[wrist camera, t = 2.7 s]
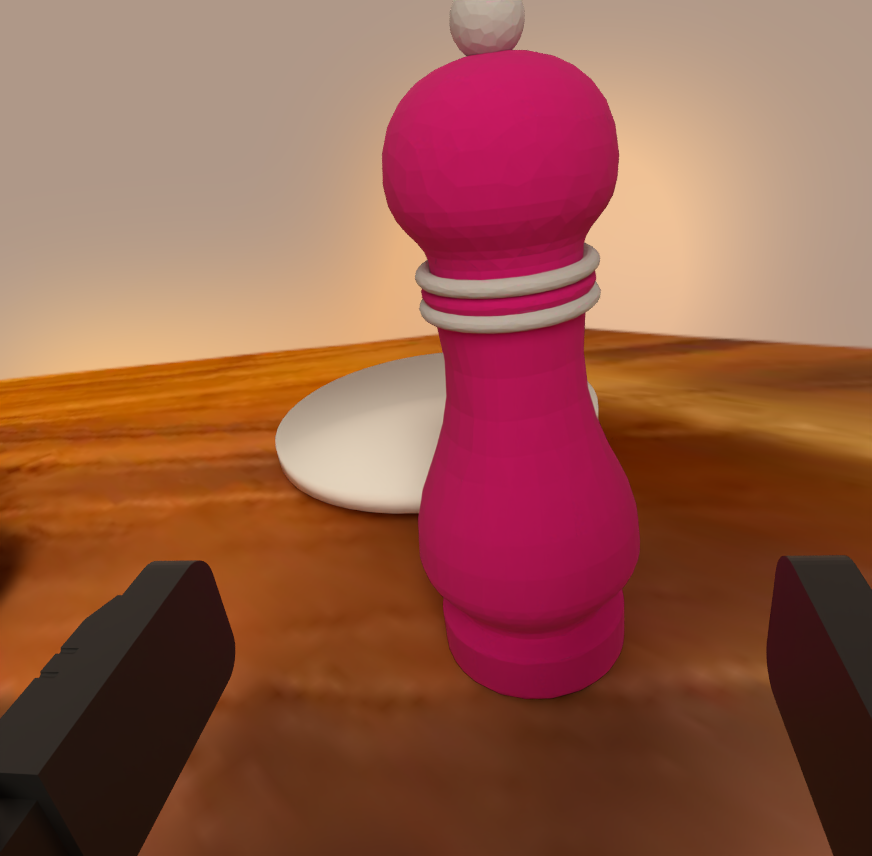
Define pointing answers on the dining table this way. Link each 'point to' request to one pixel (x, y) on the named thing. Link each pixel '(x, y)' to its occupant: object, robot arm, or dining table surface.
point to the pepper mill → (515, 356)
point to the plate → (369, 436)
